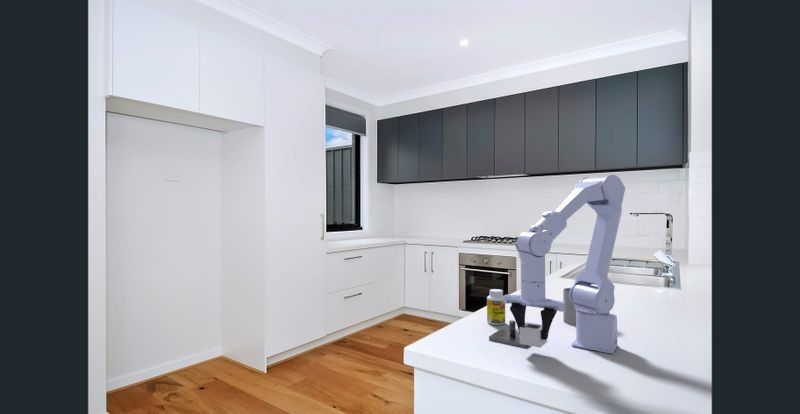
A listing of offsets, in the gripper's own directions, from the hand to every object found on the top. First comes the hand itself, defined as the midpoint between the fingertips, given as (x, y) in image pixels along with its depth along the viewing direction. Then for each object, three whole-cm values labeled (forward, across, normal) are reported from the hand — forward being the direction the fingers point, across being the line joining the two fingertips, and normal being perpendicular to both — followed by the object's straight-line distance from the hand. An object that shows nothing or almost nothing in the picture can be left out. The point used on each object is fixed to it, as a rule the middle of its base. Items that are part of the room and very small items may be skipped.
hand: (533, 336), depth 97 cm
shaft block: (+4, -8, +7) cm, 11 cm away
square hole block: (+2, 0, 0) cm, 2 cm away
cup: (+5, +2, +35) cm, 35 cm away
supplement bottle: (+4, -18, +19) cm, 27 cm away
